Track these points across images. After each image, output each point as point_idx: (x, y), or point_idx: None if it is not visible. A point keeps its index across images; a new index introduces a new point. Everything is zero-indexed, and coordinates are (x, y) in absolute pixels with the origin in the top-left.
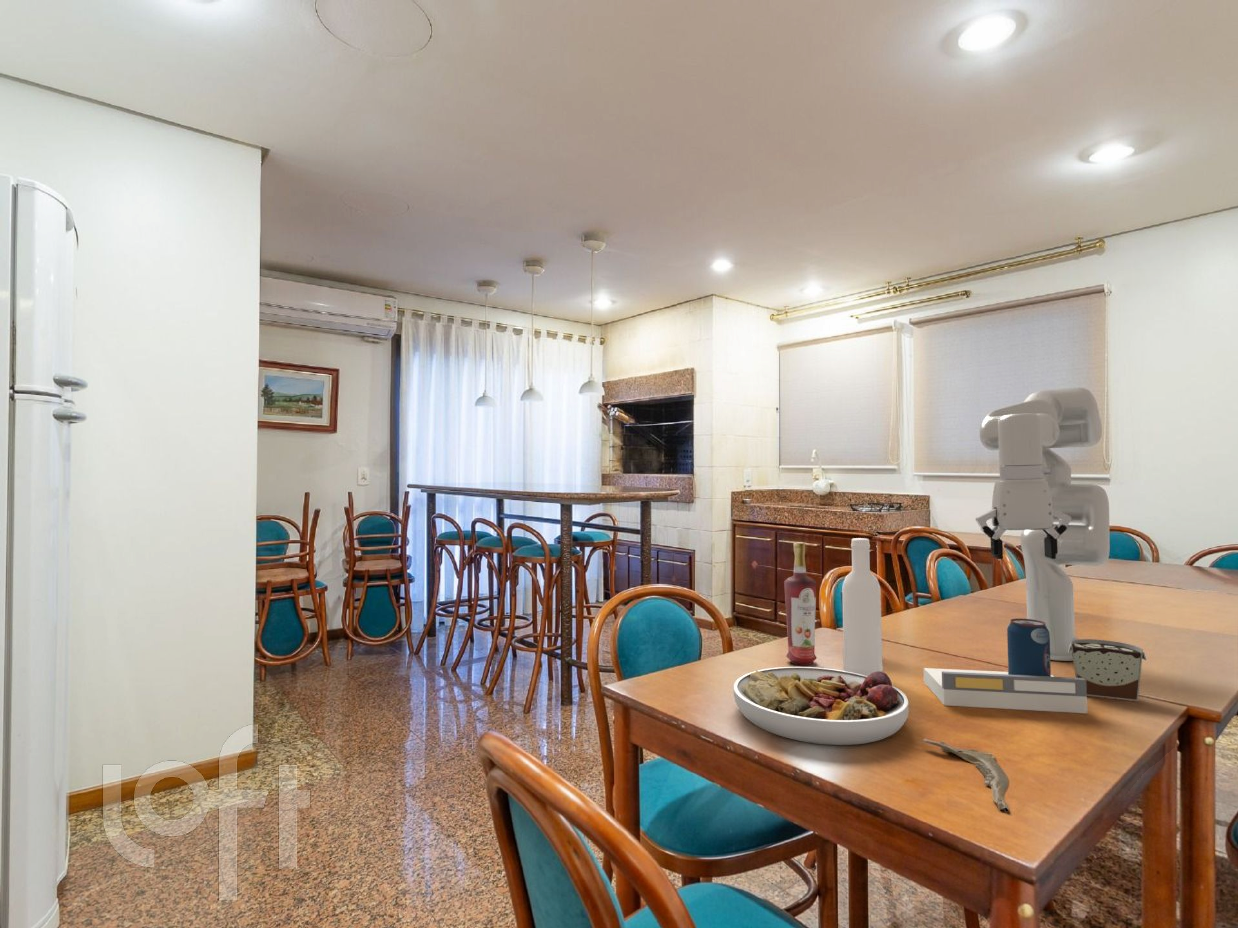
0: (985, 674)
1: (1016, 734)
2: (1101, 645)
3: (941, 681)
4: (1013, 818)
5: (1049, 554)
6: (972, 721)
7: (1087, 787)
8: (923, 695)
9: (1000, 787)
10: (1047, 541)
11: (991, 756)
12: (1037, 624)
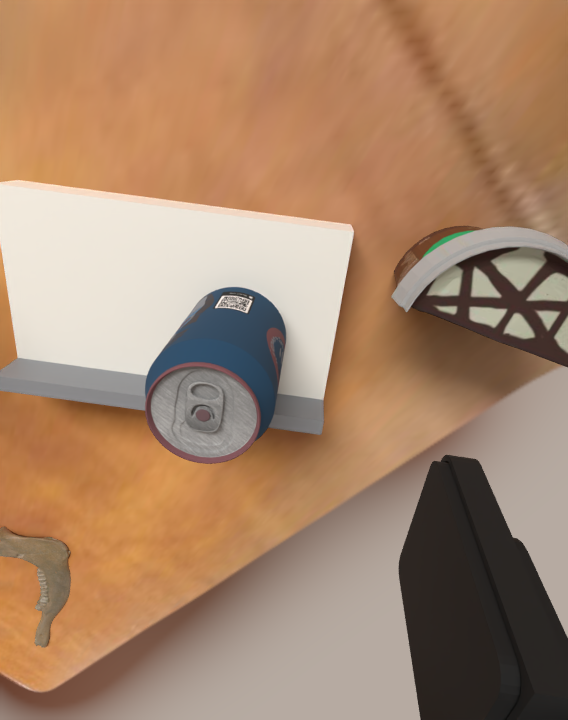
0: (95, 397)
1: (132, 482)
2: (538, 275)
3: (23, 314)
4: (48, 650)
5: (414, 562)
6: (76, 433)
7: (152, 609)
8: (5, 291)
9: (50, 616)
10: (455, 697)
11: (64, 553)
12: (232, 426)
